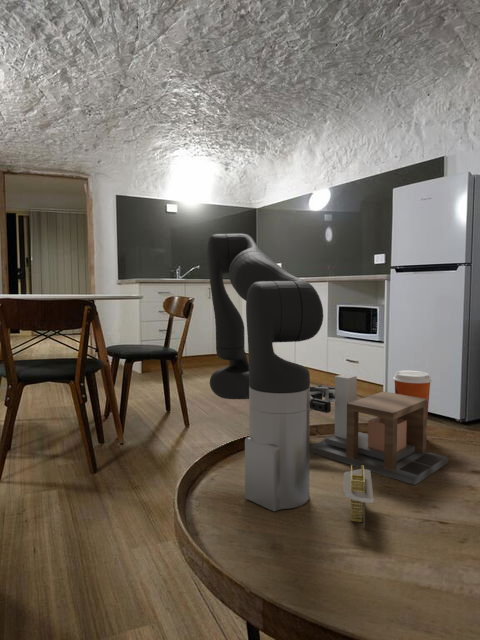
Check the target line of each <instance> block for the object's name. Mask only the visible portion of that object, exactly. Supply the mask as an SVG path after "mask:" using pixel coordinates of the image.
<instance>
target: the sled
mask: <svg viewBox="0 0 480 640" xmlns="http://www.w3.org/2000/svg"><path fill="white" fill-rule="evenodd" d="M357 376H358V375H351V374H347V373H345V374H344V373H343V374H338V375H335V376H334V387H335V402H334V434H333V435H330V436H327V437H325V438H324V440H325V443H326V444H330V445H333V446H337V447H340V448H344V449H346V445H347V403H349V402H352V401H356V400H358V399H357V395H358V394H357V390H358V387H357V385H358V384H357V383H358V382H357V381H358V377H357ZM406 432H407V420H403V419H398V418H397V461H399V460H400V459H402V458H404V457H406V456H408V455H409V454H411V453H413V452H415V446H413V445H409V444H406ZM384 436H385V418H382V417H377V416H375V417H374V418H371V419H369V420H368V421H367V433H366V432H365V433H364V432H360V431H358V453H361V454H364V455H368V456H371V457H375V458H378V459H382V460H384Z"/></svg>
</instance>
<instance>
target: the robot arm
mask: <svg viewBox="0 0 480 640" xmlns="http://www.w3.org/2000/svg"><path fill="white" fill-rule="evenodd" d="M206 247H207V249H206V251H207V252H206V253H207V256H206V258H207V266H208V267H207V269H208V276H209V284H210V293H211V301H212V306H213V313H214V322H215V323H214V324H215V352H216V356H217V358H219V359H221V360H225V361H228V362H229V366H226V367H223V368H219V369H217V370H216V371H214V372H213V373H212V374H211V376H210V378H209V387H210V389H211V391H212V392H213V394H215V395H216V396H217V397H219V398H222V399H225V400H248V401H249V403H248V404H249V406H248V409H249V410H248V412H249V414H248V417H249V420H248V421H249V422H248V423H249V425H248V426H249V428H248V429H249V435H248V436H247V437H245V439H244V474H245V475H244V491H245V493H244V497H245V499H246V500H249V501H251V502H253V503H255V504H257V505H260V506H261V507H264V508H266V509H268V510H269V511H272V512H278V511H279V510H284V509H287V510H288V509H293V508H298V507H301V506H303V505H304V504H306V503H307V502H308V500H309V499H310V446H311V445H310V442H311V441H310V437H311V436H310V432H311V431H310V428H311V427H310V421H311V419H310V416H311V415H310V412H311V411H316V412H321V413H325V414H329V413H331V412H332V406H331V405H332V404H331V403H335V386H330V385H325V384H324V385H323V384H318V385H317V386H315V385H310V384H311V383H310V382H311V381H310V380H311V378H310V377H311V376H310V372H309V369H308V368H307V367H305V366H304V365H302V364H299V363H295V362H292V361H289V360H286V359H284V358H282V357H280V356H279V355H277V354H276V353H275V351H274V345H273V344H274V343H293V342H294V343H295V342H296V343H297V342H303V341H308V340H311V339H313V338H314V337H315V336H316V335H317V334H318V333H319V331H320V330H321V328H322V325H323V321H324V309H323V307H324V306H323V304H322V303H323V302H322V301H321V297H320V295H319V293H318V292H317V290H316V288H315V287H314V286H313V285H312V284H311V283H310V282H308V281H306V280H304V279H301V278H299V277H297V276H295V275H293V274H291V273H289V272H288V271H287V270H286V269H285V268H283V267H281V266H280V265H279V264H278V263H277V262H275V260H274V259H272V258H271V257H270V256H269V255H267V254H266V253H264V252H263V250H261V249H260V247H259V246H258V245H257V242H255V240H254V238H252V236H251V235H249V234H246V233H215V234H211V235H210V237H209V239H208V241H207V246H206ZM226 274H228V278H229V282H230V284H231V286H232V287H233V289H234V290H235V292H236V294H237V295H238V296H240V298H241V299H243V300H244V301H245V320H246V332H247V348H248V349H247V352H248V353H247V354H248V357H247V354H246V350H245V349H246V348H245V323H244V320H243V318H242V315H241V313H240V312H239V310H238V309H237V307H236V305H235V304H234V303H233V301H232V299H231V298H230V296H229V294H228V293H227V290H226V286H225V283H224V278H223V275H226ZM323 398H324V399H323Z"/></svg>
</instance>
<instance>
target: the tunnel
mask: <svg viewBox="0 0 480 640" xmlns="http://www.w3.org/2000/svg"><path fill="white" fill-rule="evenodd" d="M359 413H360V414H363V415H369V416H373V417H382V418H385V436H384V460H382V459H378V458H375V457H371V456H368V455H364V454H361V453H358V432H359ZM397 418H398V419H403V420H407V432H406V444H409V445H413V446H415V452H413V453H411V454H409V455H408V456H406V457H404V458H402V459H400V460H399V461H397ZM427 424H428V416H427V399H424V398H418V397H412V396H406V395H401V394H395V392H388V391H381V392H378V393H377V392H376V393H374V394H371V395H368V396H365V397H362V398H359V399H356V401H352V402H349V403H347V445H346V449H344V448H340V447H337V446H333V445H330V444H326V443H325V439H324V440H322V441H320V442H317V443H314V444H311V445H310V448H309V453H311V454H315V455H319V456H322V457H325V458H327V459H331V460H334V461H337V462H340V463H343V464H347V465H350V466H351V465H352V467H356V468H358V469H361V465H363V466H364V469H367V470H370V471H371V472H373V473H375V474H379V475H382V476H385V477H387V478H391V479H395V480H397V481H400V482H404V483H407V484H410V485H413V486H415V485H417V484H418V483H420V482H422V481H423V480H425V479H426V478H428V477H429V476H431V475H432V474H434V473H435V472H437V471H439V469H442V468H443V467H444V466H446V465H447V464H448V463H449V459H448V458H449V457H448V456H446V455H442V454H438V453H434V452H430V451H427V440H428V439H427V438H428V437H427V436H428V435H427V434H428V431H427V429H428V425H427Z"/></svg>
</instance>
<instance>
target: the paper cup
mask: <svg viewBox="0 0 480 640" xmlns="http://www.w3.org/2000/svg"><path fill="white" fill-rule="evenodd" d="M392 379H393V380H394V393H395V394H401V395H406V396H412V397H418V398H424V399H427V417H428V414H429V405H430V404H429V403H430V391H431V382H433V381H434V380H433V379H432V376H431V375H430V373H429V372H425V371H420V370H408V369H407V370H398V371H395V374H394V376H393V378H392Z"/></svg>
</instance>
